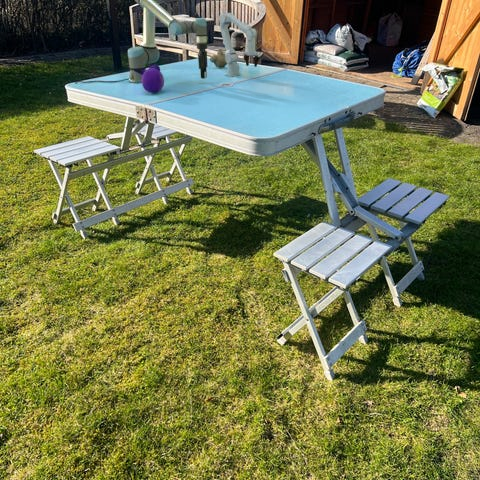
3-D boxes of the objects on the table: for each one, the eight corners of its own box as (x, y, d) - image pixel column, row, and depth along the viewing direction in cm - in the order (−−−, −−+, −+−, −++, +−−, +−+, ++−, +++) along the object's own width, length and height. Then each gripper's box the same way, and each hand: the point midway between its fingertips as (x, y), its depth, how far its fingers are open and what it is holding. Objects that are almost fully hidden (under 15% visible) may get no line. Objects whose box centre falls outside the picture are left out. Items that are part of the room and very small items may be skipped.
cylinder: (206, 77, 327) (206, 71, 325) (205, 78, 324) (205, 72, 322) (202, 77, 328) (201, 71, 325) (200, 78, 324) (200, 72, 322)
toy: (156, 85, 322) (164, 98, 301) (131, 81, 314) (137, 93, 294) (160, 63, 314) (168, 74, 293) (135, 58, 306) (141, 69, 286)
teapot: (213, 69, 375) (212, 50, 367) (207, 67, 383) (206, 48, 376) (235, 67, 384) (235, 48, 376) (229, 65, 392) (228, 46, 385)
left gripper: (202, 44, 306) (204, 80, 318) (210, 41, 320) (212, 75, 331) (192, 44, 308) (194, 79, 319) (201, 41, 321) (203, 75, 333)
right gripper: (240, 46, 333) (240, 66, 339) (256, 48, 325) (256, 67, 332) (246, 45, 337) (246, 64, 344) (261, 47, 330) (261, 66, 337)
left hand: (203, 77), depth 325 cm, fingers closed on cylinder, 4 cm apart
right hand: (251, 66), depth 338 cm, fingers open, 7 cm apart
